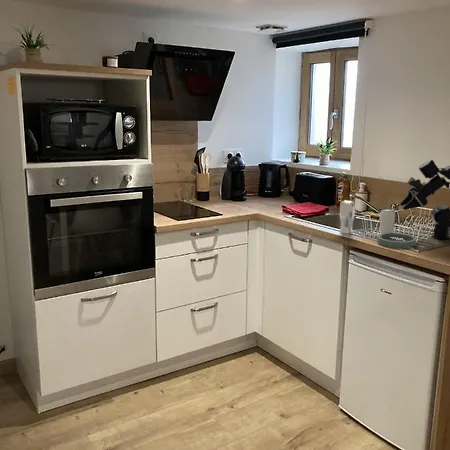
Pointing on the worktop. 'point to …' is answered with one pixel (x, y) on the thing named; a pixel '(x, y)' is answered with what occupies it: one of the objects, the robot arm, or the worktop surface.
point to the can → (387, 221)
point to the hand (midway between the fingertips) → (401, 206)
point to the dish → (389, 242)
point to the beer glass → (347, 216)
